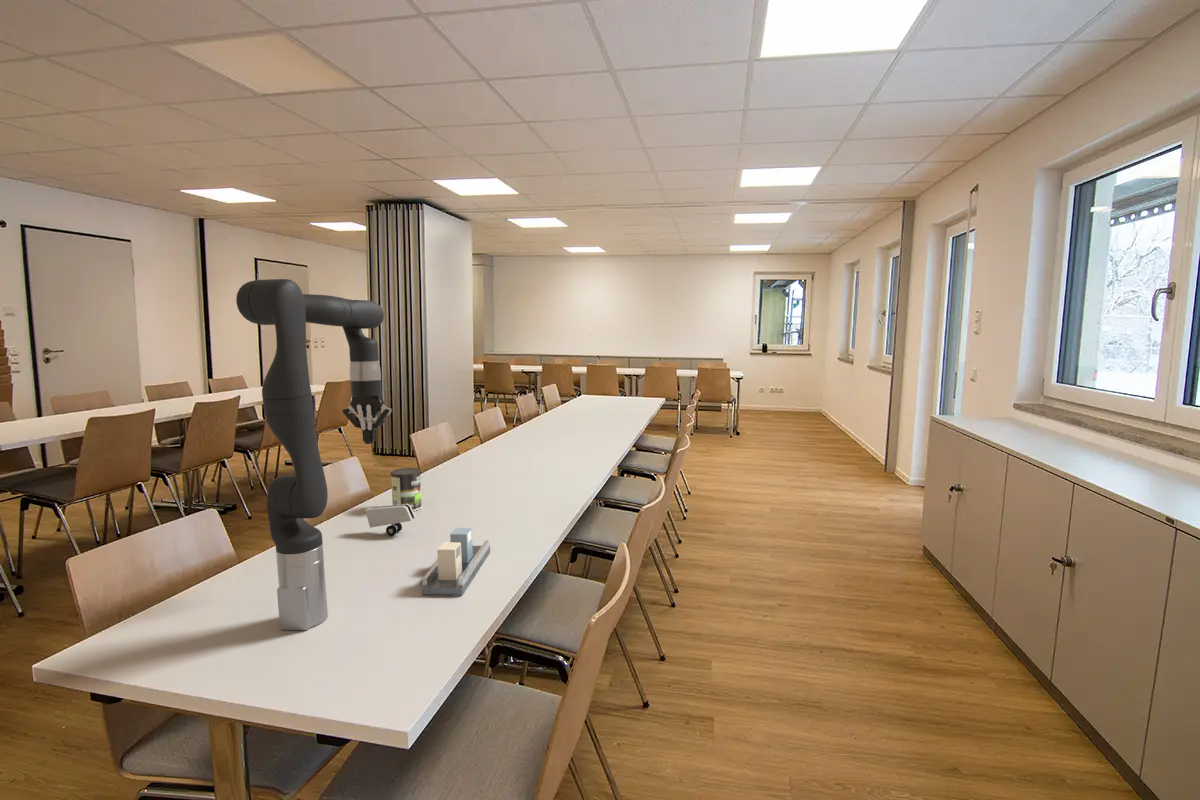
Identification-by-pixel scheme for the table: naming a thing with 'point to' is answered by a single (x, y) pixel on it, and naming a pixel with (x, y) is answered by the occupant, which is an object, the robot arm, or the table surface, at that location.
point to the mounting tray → (459, 586)
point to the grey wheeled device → (390, 516)
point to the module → (463, 542)
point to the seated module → (449, 561)
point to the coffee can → (406, 487)
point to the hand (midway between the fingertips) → (369, 443)
